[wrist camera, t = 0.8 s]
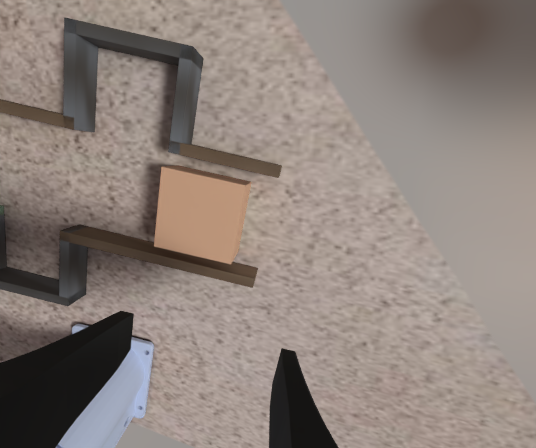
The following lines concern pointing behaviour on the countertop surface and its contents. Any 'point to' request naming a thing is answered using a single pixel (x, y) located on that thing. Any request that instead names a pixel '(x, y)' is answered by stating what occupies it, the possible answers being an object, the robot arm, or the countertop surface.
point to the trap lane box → (83, 118)
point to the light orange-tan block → (200, 213)
